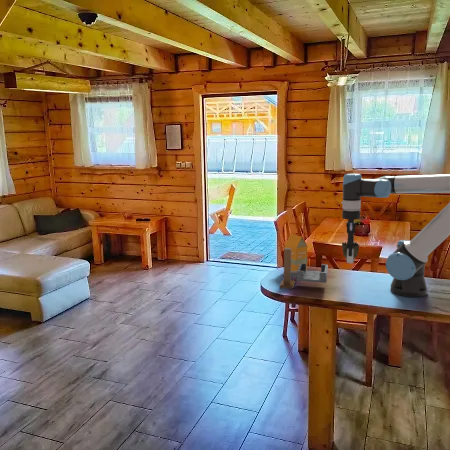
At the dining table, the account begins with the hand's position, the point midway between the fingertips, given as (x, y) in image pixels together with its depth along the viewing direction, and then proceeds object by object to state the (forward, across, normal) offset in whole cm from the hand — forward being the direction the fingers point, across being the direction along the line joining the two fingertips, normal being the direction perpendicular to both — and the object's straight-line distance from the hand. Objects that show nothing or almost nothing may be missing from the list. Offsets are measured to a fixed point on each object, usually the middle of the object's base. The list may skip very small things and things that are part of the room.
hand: (350, 260), depth 197 cm
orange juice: (+14, -21, -26) cm, 37 cm away
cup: (0, 0, 0) cm, 0 cm away
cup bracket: (+14, -1, -20) cm, 25 cm away
